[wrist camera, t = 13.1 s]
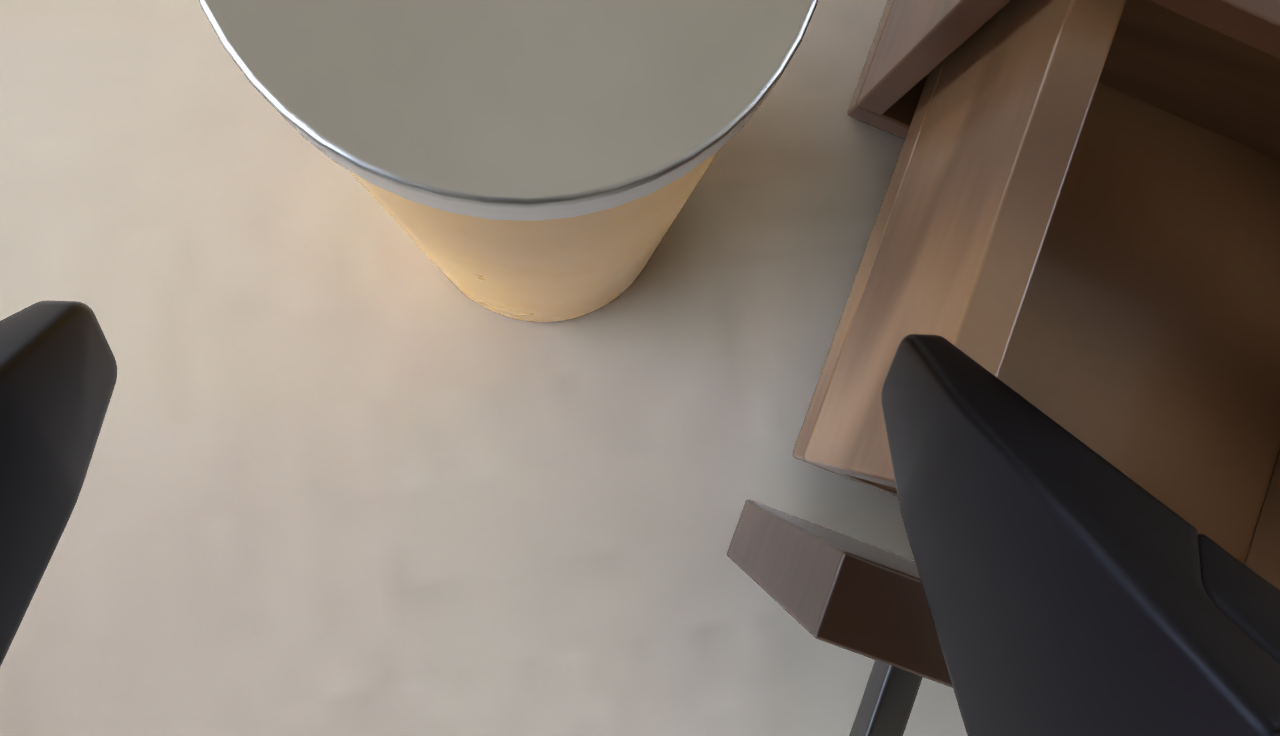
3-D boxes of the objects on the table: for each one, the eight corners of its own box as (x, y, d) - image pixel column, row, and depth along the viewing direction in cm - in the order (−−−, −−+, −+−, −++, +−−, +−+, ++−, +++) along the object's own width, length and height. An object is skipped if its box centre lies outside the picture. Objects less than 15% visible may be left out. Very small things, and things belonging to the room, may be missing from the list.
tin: (551, 379, 17) (538, 344, 6) (361, 208, 16) (11, -128, 6) (715, 197, 17) (961, -119, 7) (533, 29, 17) (491, -573, 6)
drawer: (1147, 922, 17) (1444, 1187, 11) (653, 753, 16) (705, 948, 10) (1374, 195, 18) (1746, 102, 12) (925, 0, 17) (1105, -196, 11)
